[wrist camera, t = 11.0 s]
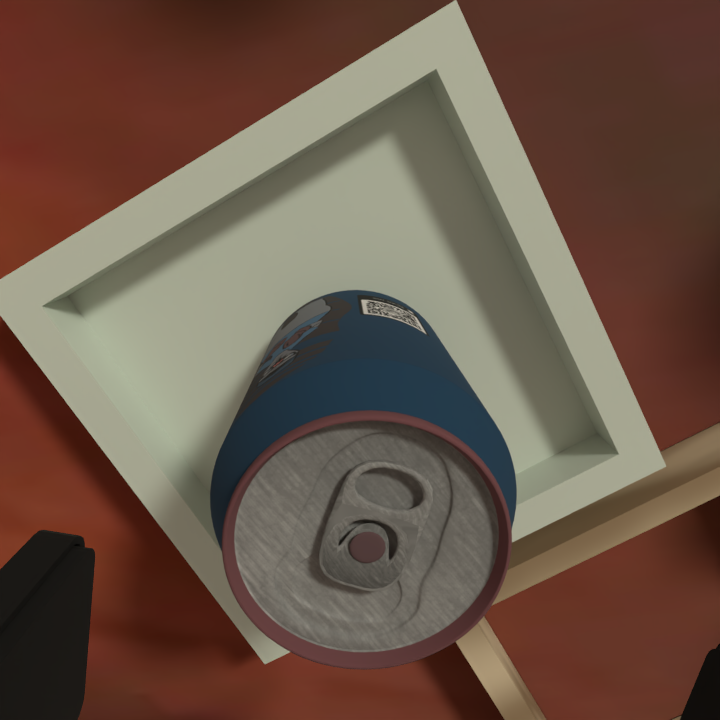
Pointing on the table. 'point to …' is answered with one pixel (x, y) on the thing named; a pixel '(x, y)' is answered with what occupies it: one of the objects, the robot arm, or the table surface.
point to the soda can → (362, 489)
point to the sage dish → (335, 288)
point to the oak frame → (591, 551)
